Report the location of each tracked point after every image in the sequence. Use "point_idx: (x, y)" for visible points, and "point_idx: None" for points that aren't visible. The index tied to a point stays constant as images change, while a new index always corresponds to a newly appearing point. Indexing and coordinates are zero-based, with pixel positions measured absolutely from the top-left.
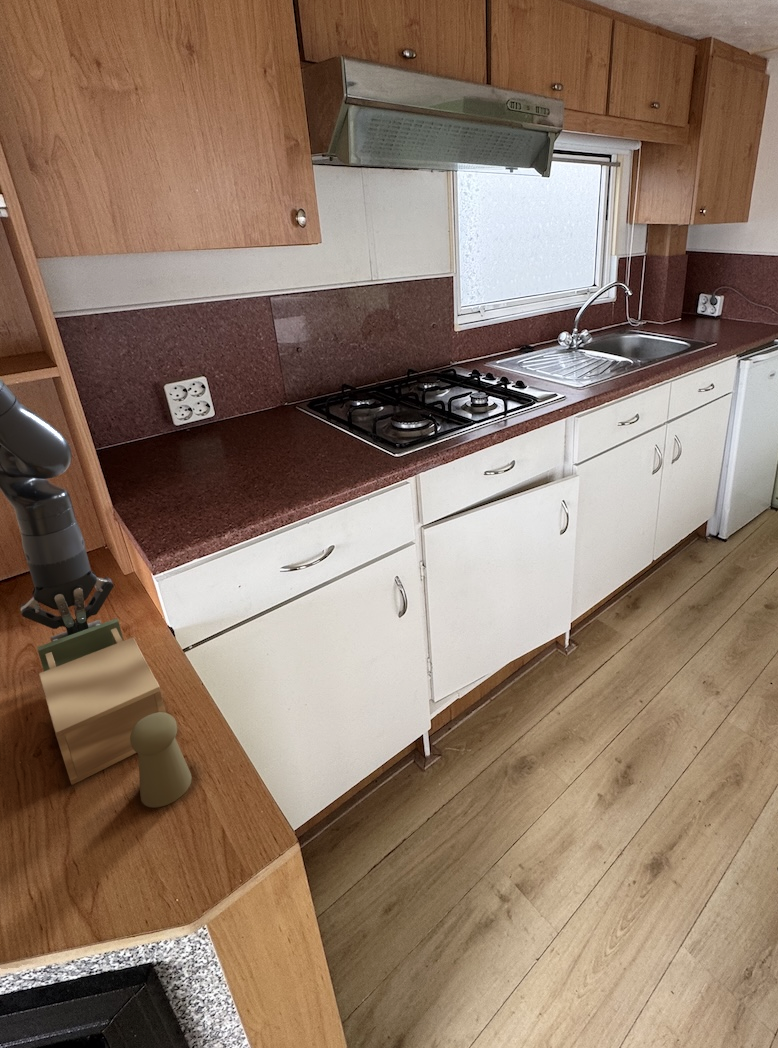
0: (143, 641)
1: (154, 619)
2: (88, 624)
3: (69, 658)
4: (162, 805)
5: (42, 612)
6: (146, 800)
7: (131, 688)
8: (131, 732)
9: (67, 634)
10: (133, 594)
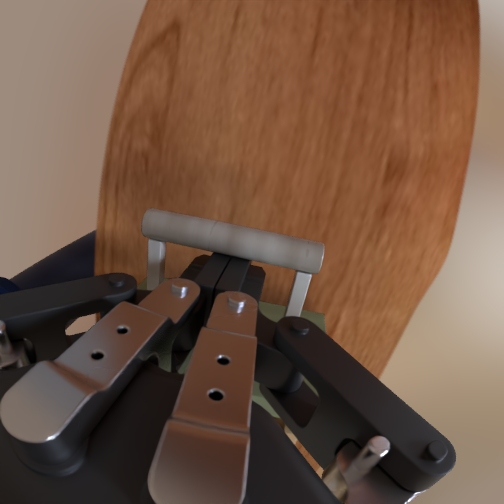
0: (385, 275)
1: (456, 199)
2: (275, 259)
3: None
4: None
5: (47, 347)
6: None
7: None
8: None
9: (195, 246)
10: (467, 25)
